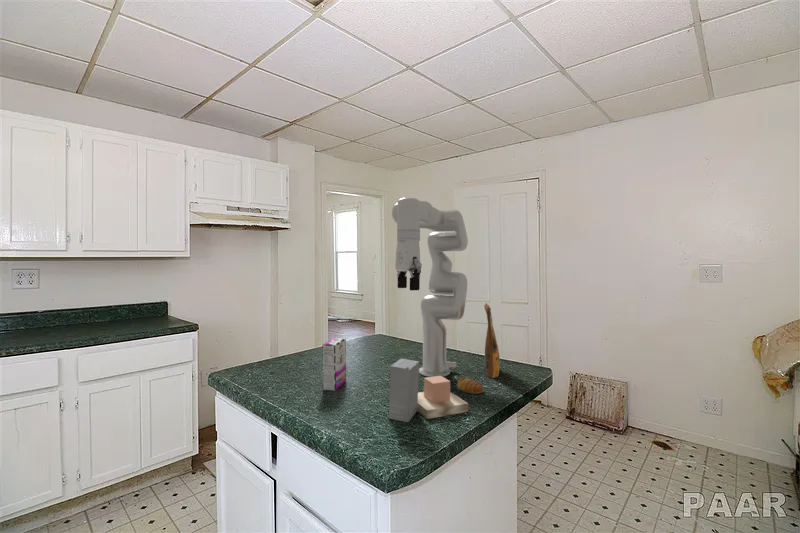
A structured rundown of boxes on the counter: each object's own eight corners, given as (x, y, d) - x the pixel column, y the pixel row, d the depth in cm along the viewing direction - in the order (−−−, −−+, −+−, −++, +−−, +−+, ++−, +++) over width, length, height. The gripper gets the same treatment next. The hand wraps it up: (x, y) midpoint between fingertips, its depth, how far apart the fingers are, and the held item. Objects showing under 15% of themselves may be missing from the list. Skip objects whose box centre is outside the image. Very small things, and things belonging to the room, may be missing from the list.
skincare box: (398, 408, 115) (398, 357, 115) (420, 412, 112) (420, 360, 112) (387, 419, 107) (387, 364, 107) (410, 423, 104) (410, 367, 104)
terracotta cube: (423, 396, 118) (424, 377, 118) (440, 394, 121) (440, 375, 121) (432, 403, 113) (433, 383, 113) (450, 400, 115) (450, 381, 115)
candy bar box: (333, 380, 141) (334, 337, 141) (346, 381, 140) (346, 337, 140) (321, 390, 130) (322, 343, 130) (335, 391, 129) (335, 344, 129)
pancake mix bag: (481, 378, 145) (481, 306, 144) (484, 365, 163) (484, 301, 162) (499, 380, 143) (499, 307, 142) (500, 366, 161) (500, 301, 161)
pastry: (487, 392, 131) (487, 381, 131) (476, 397, 126) (476, 385, 126) (465, 385, 138) (465, 375, 137) (454, 389, 133) (454, 379, 133)
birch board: (444, 395, 126) (444, 388, 126) (468, 411, 113) (468, 403, 113) (407, 401, 120) (407, 394, 120) (427, 419, 108) (427, 410, 108)
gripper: (388, 237, 128) (387, 287, 128) (409, 234, 112) (408, 291, 113) (408, 238, 131) (407, 287, 131) (431, 235, 115) (430, 290, 116)
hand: (408, 289), depth 122 cm, fingers open, 9 cm apart
